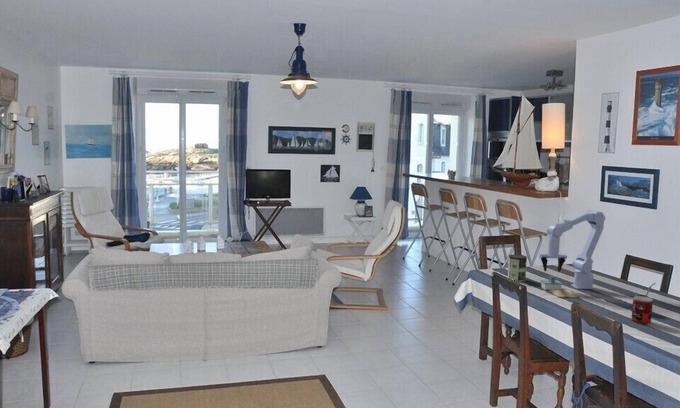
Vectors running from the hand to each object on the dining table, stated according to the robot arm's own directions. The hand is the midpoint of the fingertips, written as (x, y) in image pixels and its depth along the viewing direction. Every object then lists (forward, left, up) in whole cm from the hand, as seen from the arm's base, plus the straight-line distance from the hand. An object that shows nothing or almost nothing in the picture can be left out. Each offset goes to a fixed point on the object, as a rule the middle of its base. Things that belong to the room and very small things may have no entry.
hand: (552, 271), depth 314 cm
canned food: (-22, +55, -10) cm, 60 cm away
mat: (-3, +12, -10) cm, 16 cm away
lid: (0, 0, -7) cm, 7 cm away
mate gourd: (-30, +40, -10) cm, 51 cm away
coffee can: (+14, -18, -10) cm, 25 cm away
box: (0, 0, -10) cm, 10 cm away
